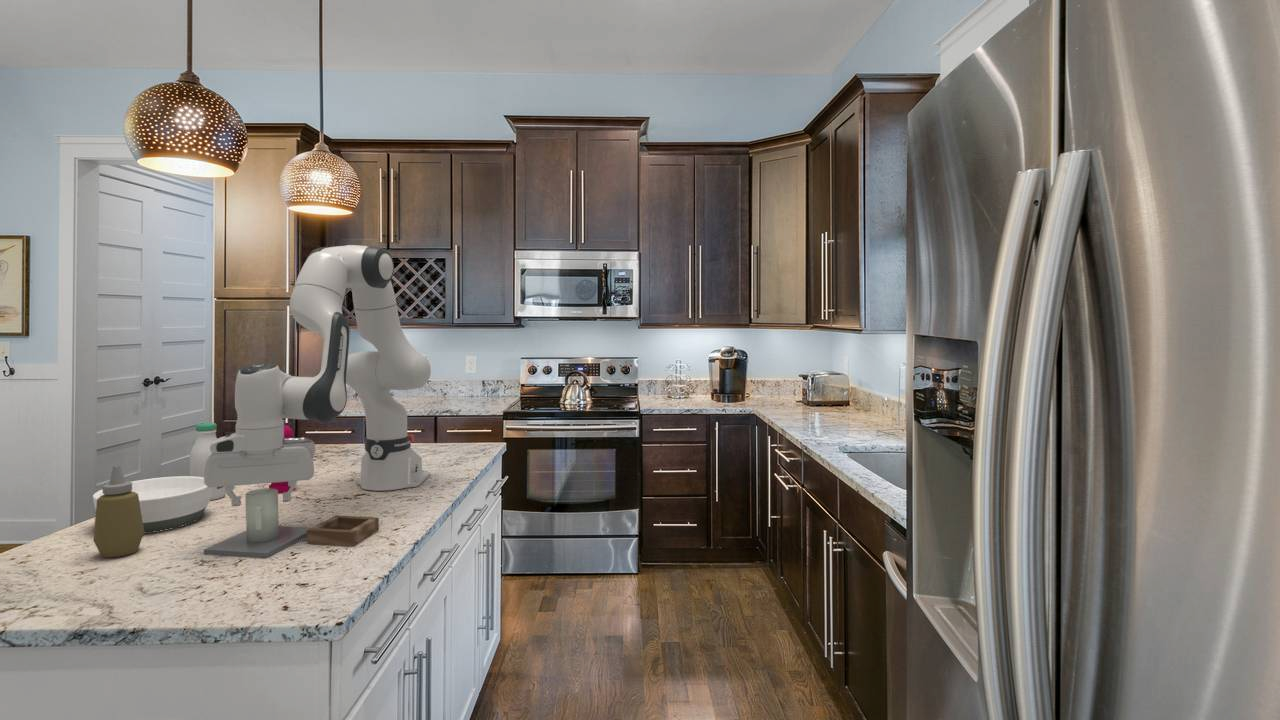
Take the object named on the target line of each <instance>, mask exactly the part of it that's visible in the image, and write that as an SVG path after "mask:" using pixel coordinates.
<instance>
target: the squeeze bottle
mask: <svg viewBox="0 0 1280 720" xmlns="http://www.w3.org/2000/svg"><path fill="white" fill-rule="evenodd" d="M121 466H122V465H114V466H112V468H111V469H112V470H111V475H110V478H109V482H108V483H106V484H103V485H102V489H103V494H105V495H102V496H100V497H99V498H98V499H97V506H96V510H95V519H94V528H93V529H94V530H93V543H94V544H95V547H96V548H97V550H98V552H99V554H100V556H101V557H103V558H118V557H124V556H128V555H131V554H133V553H136V552H138V550H139V548H140V545H141V542H142V539H143V536H144V534H145V533H144V527H143V521H142V515H141V509H140V503H139V497H138V494H137V493H135V492H133V491H132V481H126V479H125V475H124V473H123V469H122V467H121Z"/></svg>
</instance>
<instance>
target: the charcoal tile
mask: <svg viewBox="0 0 1280 720" xmlns="http://www.w3.org/2000/svg"><path fill="white" fill-rule="evenodd" d="M310 528H312V527H309V526H308V527H307V526H305V527H304V526H293V525H292V526H291V525H290V526H289V525H279V537H277V538H276V539H273V540H270V541H266V542H257V543H253V542H248V541H247V535H246V530H244V531H243V532H240V533H238V534H235V535H233V536H230V537H229V538H226V539H224V540H222V541H219V542H216V543H215V544H213V545H210V546H209V547H206V548H204V549H203V555H208V554H214V555H213V556H227V557H241V556H242V557H244V558H247V557H248V558H258V557H261V559H268V558H270V557H272V556H274V555H275V553H276V554H278V553H279V552H281V551H283V550H285V549H287V548H289V547H290V545H291V546H293V545H294V543H295V542H296V543H298V542H300V541H302V540H304V539H306V538H307V530H308V529H310ZM305 537H306V538H305ZM303 538H304V539H303ZM301 539H302V540H301ZM299 540H300V541H299ZM297 541H298V542H297ZM296 543H295V544H296ZM292 544H293V545H292ZM288 546H289V547H288ZM286 547H287V548H286ZM284 548H285V549H284ZM271 555H272V556H271ZM267 557H268V558H267Z"/></svg>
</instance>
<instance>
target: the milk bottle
mask: <svg viewBox="0 0 1280 720" xmlns="http://www.w3.org/2000/svg"><path fill="white" fill-rule="evenodd" d="M217 426H218V425H217V423H215V422H203V423H197V424H196V425H195V433H196V439H195V442H194V444H193V445H192V448H191V451H190V453H189V476H195V477H204V471H205V464H206V460H207V458H208V457H209V456H210V455H211V454H212V452H211V451H210V445H211V443H212V442H213V441H214V440H216V439H218V438H217V433H216V432H217ZM225 495H226V492H225V486H224V487H213V488H212V495H211V498H210V500H209V501H215V500H218V499H219V500H220V499H221V498H224V497H225Z"/></svg>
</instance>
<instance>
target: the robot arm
mask: <svg viewBox="0 0 1280 720" xmlns="http://www.w3.org/2000/svg"><path fill="white" fill-rule="evenodd" d="M394 272H395V264H394V259H393V257H392V255H391V253H389V252H388V250H387V249H385V248H383V247H382V246H376V245H368V246H367V245H357V244H356V245H355V244H347V245H337V246H330V247H329V246H322V247H321V246H320V247H318V248H315V249H313V250H312V251H311V252H310V253H309V254H308V256H307V258H306V260H305V262H304V264H303V265H302V267H301V269H300V271H299V273H298V276H297V278H296V279H295V284H294V287H293V289H292V293H291V295H290V298H289V311H290V312H289V313H290V314H291V316H292V317H293V319H294V320H295V321H296V323H297V324H299V325H300V326H302V327H303V328H305V329H307V330H308V331H310V332H312V333H314V334H317V335H318V336H321V338H322V341H323V345H322V354H321V355H322V356H321V365H320V366H321V367H320V371H319V373H318V374H317V375H316V376H296V375H291V374H288V373H286V372H284V371H282V370H281V369H280V367H279V365H278V364H276V363H273V362H272V363H271V362H259V363H252V364H247V365H245V366H243V367H241V368H240V369H239V370H238V372H237V375H236V379H235V386H234V408H235V411H236V413H237V419H236V423H235V432H233V433H230V434H226V435H225V436H220V437H219V438H217V439H216V440H214V441H213V442H212V443H211V445H210V451H211V452H212V454H211V455H210V456H209V457H208V458H207V460H206V464H205V471H204V484H205V485H206V486H207V487H209V488H211V487H224V486H225V495H227V496H228V498H229V499H230V501H231V507H232V508H233V507H240V506H241V505H242V496H240V495H236V494H235V492H234V489H235V486H244V485H245V486H247V485H261V484H271V483H275V482H288V486H291V487H290V489H289V490H288V492H284V493H282V502H283V503H287V502H289V503H290V502H291V501H292V492H293V491H294V490H295V489H296V486H297V482H298V481H309V480H311V479H312V478H313V477H314V475H315V464H314V459H313V456H314V455H315V453H316V444H315V442H314V441H313V440H312V439H309V438H308V437H307V436H306V437H304V436H302V437H292V438H284V425H285V422H284V423H283V421H284V419H290V420H304V421H305V420H307V421H308V420H309V421H313V422H319V423H330V422H332V421H334V420H335V419H336V418H337V417H339V415H341V414H342V413H343V411H344V410H345V409H346V405H347V403H348V401H347V400H348V395H347V394H348V393H347V392H348V391H347V385H348V386H349V387H350V388H351V389H353V390H354V392H355V393H356V394H357V396H358V398H359V399H360V402H361V404H362V406H363V410H364V414H365V428H366V437H365V438H364V450H365V453H364V454H363V455H362V456H361V463H360V476H359V477H360V478H359V479H357V480H356V485H358V486H360V488H361V489H363V490H366V491H367V490H368V491H376V492H379V491H382V492H383V491H394V490H401V489H406V488H407V489H408V488H417V487H419V486H421V484H422V483H424V481H426V480H427V478H429V477H430V476H431V471H428V470H425V469H423V459H422V457H421V456H420V455H419V454H418V453H416V451H414V450H413V449H412V444H411V442H414V441H415V435H414V434H408V412H407V410H406V408H405V406H403V404H401V403H399V402H397V401H396V400H395V398H394V397H393V396H392V393H391V391H392V390H394V391H395V390H397V391H409V390H416V389H421V388H423V387H424V386H425V385H426V384H427V383H429V379H430V378H431V373H432V372H431V371H432V370H431V364H430V362H429V360H428V359H427V357H426V356H425V355H424V354H422V353H420V352H419V351H417V350H416V349H415V347H414V346H412V344H411V343H410V342H409V341H408V339H407V337H406V336H405V333H404V331H403V329H402V326H401V321H400V317H399V316H400V315H399V312H398V306H397V305H398V304H397V299H396V294H395V291H394V286H393V284H392V279H393V276H394ZM347 289H351V292H352V303H353V309H354V314H355V320H356V326H357V327H356V328H357V332H358V335H359V336H360V338H362V339H363V340H365V342H367V343H370V344H371V345H372V346H373V347H374V348H375V349H376V350H377V351H376V350H375V351H374V350H371V351H370V350H366V351H365V350H364V351H359V352H353V353H351V354H349V347H350V334H351V333H350V331H351V330H350V322H349V320H348V318H347V317H346V316H345V315H344V314H343V304H344V300H345V295H346V290H347ZM284 443H285V444H284ZM294 488H295V489H294ZM293 489H294V490H293Z"/></svg>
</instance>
